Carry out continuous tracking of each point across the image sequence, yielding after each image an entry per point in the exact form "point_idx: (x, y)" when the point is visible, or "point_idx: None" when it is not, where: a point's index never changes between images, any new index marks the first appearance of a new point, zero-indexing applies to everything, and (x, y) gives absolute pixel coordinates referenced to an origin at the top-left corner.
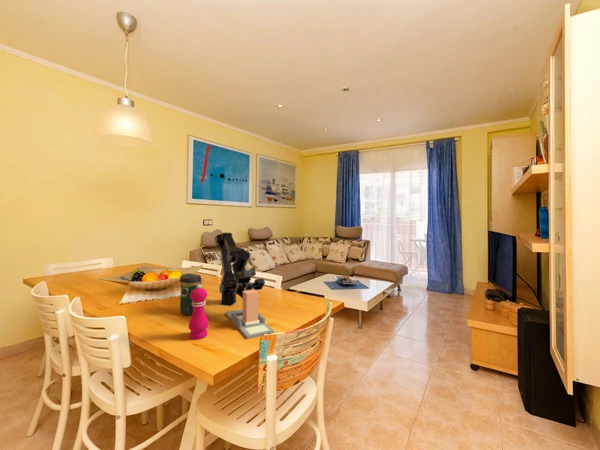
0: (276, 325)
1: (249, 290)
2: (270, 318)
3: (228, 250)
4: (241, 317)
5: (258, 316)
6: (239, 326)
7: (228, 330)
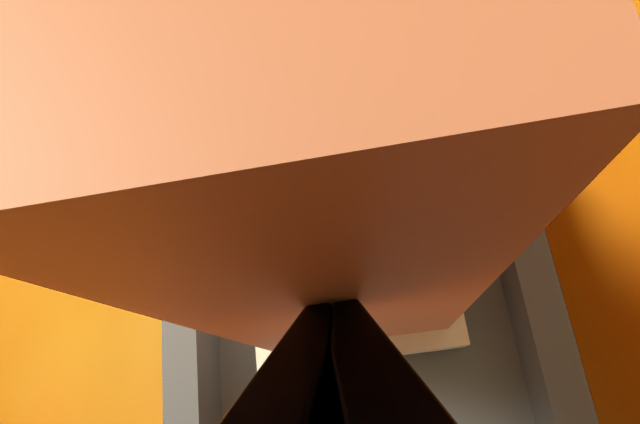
0: None
1: (184, 92)
2: (54, 398)
3: None
4: None
5: (205, 337)
6: None
7: (632, 202)
